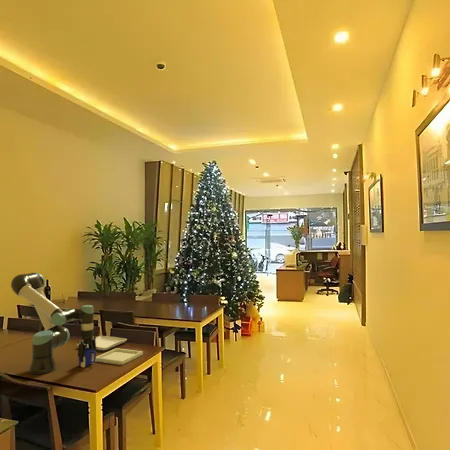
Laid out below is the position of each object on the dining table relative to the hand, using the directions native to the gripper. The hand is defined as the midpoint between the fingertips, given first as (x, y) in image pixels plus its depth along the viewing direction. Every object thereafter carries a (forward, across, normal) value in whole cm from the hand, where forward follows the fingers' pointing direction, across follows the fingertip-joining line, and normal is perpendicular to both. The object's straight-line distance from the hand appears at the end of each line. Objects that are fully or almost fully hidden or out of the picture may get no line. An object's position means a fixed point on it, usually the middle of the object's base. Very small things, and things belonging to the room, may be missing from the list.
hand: (87, 365), depth 241 cm
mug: (0, 0, 0) cm, 1 cm away
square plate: (+1, +41, +22) cm, 47 cm away
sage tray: (0, +20, -10) cm, 22 cm away
